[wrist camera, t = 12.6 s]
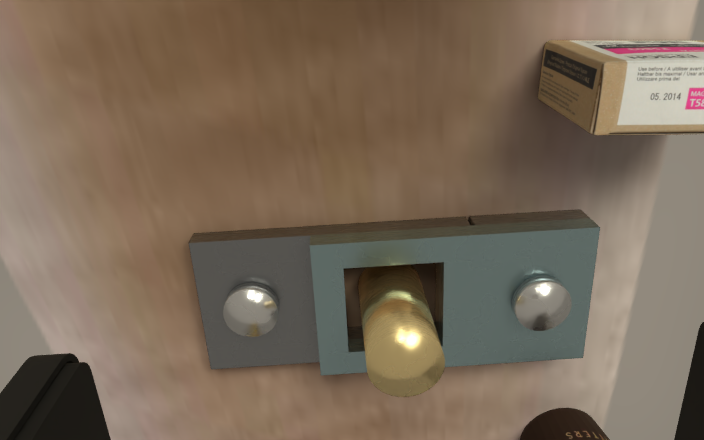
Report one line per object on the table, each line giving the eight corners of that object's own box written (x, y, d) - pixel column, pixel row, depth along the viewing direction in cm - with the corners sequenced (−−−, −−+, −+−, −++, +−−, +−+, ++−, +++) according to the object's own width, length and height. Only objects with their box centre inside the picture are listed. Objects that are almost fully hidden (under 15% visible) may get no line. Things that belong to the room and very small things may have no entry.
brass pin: (356, 260, 40) (365, 335, 31) (420, 255, 40) (445, 329, 31) (359, 314, 41) (368, 399, 33) (420, 310, 41) (444, 394, 33)
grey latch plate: (193, 233, 38) (185, 250, 36) (465, 216, 39) (474, 231, 36) (214, 356, 42) (208, 378, 40) (461, 340, 42) (469, 360, 40)
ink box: (708, 38, 35) (817, 56, 27) (693, 101, 36) (792, 135, 29) (541, 38, 34) (604, 56, 27) (533, 102, 36) (591, 137, 28)
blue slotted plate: (310, 226, 38) (309, 252, 35) (580, 209, 39) (607, 233, 35) (321, 349, 42) (320, 384, 39) (566, 333, 43) (589, 366, 39)
